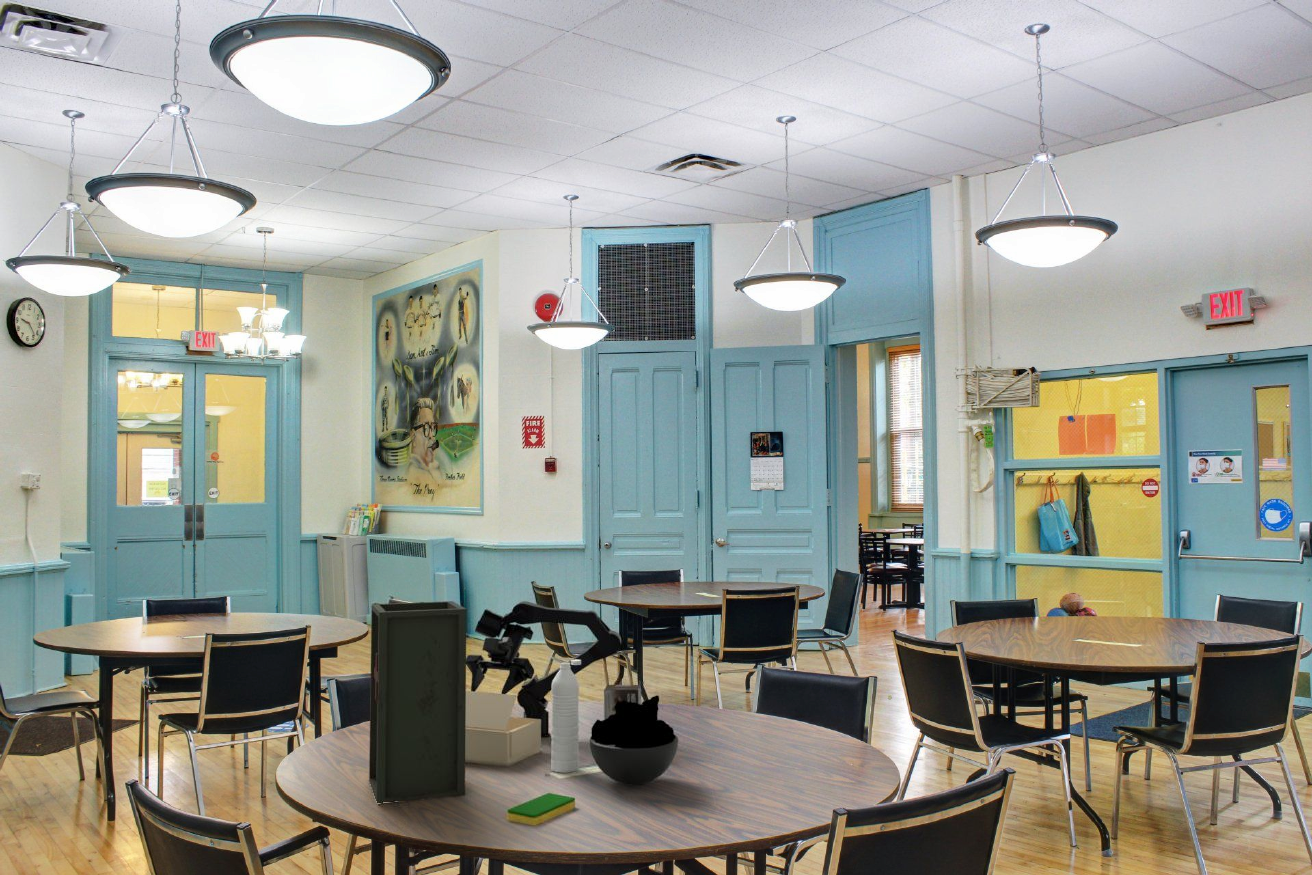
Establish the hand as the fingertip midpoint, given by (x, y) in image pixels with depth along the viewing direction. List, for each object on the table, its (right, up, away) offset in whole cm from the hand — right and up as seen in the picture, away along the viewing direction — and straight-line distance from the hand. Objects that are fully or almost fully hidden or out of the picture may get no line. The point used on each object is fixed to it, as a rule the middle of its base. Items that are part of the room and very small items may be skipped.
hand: (487, 693), depth 264 cm
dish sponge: (+21, -11, -57) cm, 62 cm away
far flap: (0, -1, -14) cm, 14 cm away
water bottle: (+23, -12, -23) cm, 35 cm away
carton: (+2, -13, -10) cm, 17 cm away
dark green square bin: (-9, -11, -39) cm, 42 cm away
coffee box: (+36, -13, -6) cm, 38 cm away
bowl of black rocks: (+39, -12, -36) cm, 54 cm away
